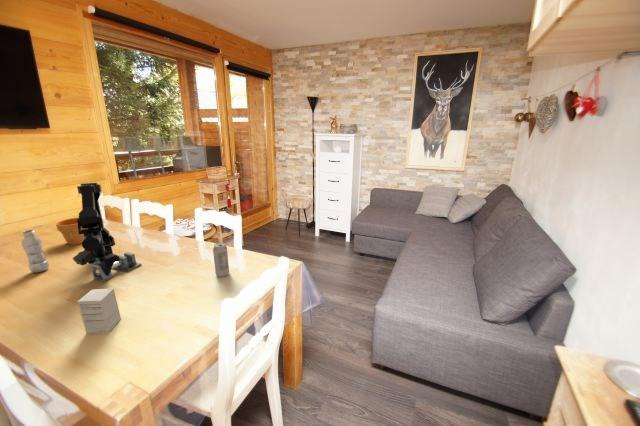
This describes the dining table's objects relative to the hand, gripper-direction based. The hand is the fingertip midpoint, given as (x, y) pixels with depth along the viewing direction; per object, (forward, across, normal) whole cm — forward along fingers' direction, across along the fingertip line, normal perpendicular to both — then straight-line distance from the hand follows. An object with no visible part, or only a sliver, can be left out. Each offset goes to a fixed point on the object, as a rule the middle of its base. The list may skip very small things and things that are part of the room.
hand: (102, 274), depth 128 cm
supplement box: (+2, +33, -22) cm, 40 cm away
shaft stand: (+2, 0, +6) cm, 6 cm away
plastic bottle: (+2, -34, -6) cm, 35 cm away
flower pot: (+2, -56, +23) cm, 60 cm away
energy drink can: (+2, +48, +22) cm, 53 cm away
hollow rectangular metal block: (+2, 0, 0) cm, 2 cm away
